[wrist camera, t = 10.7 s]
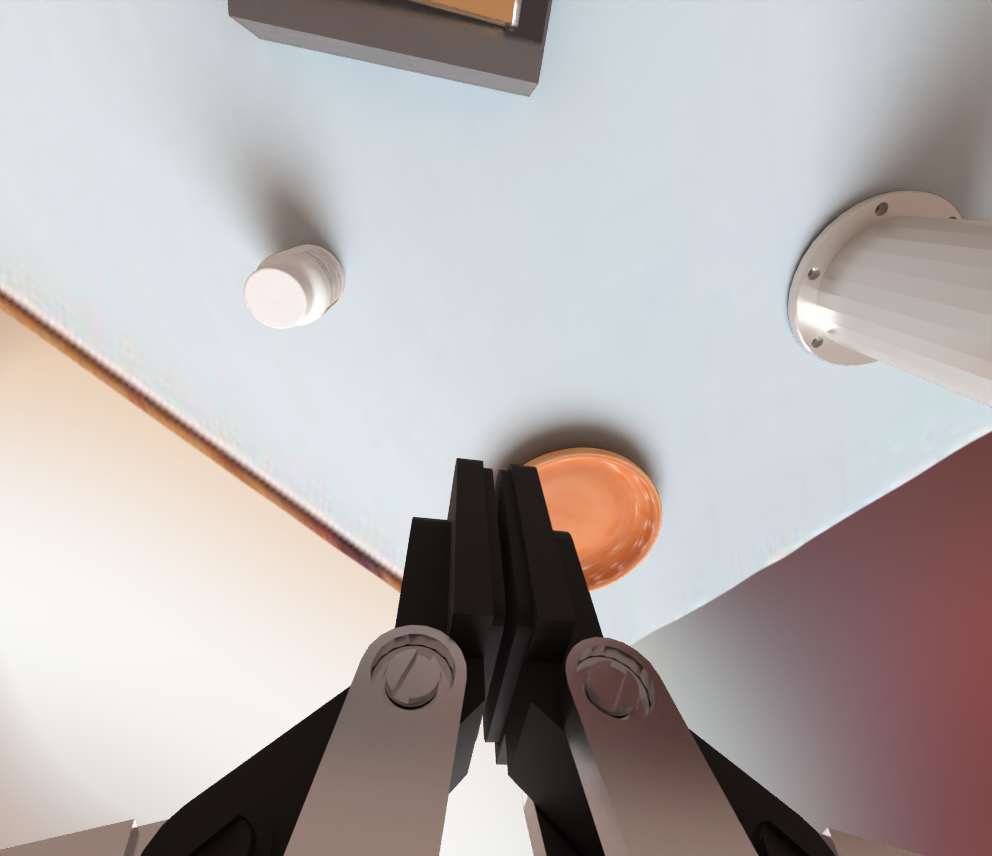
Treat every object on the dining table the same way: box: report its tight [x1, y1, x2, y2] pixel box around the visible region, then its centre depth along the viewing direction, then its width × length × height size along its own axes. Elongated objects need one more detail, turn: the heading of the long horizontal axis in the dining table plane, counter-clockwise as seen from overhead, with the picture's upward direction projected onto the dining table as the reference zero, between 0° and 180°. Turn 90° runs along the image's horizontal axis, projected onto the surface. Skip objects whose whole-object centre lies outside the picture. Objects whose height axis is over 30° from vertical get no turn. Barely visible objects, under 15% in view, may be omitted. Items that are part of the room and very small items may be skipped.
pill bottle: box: [244, 244, 345, 329], centre depth 30 cm, size 4×4×8 cm
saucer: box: [523, 447, 662, 592], centre depth 43 cm, size 16×16×3 cm
